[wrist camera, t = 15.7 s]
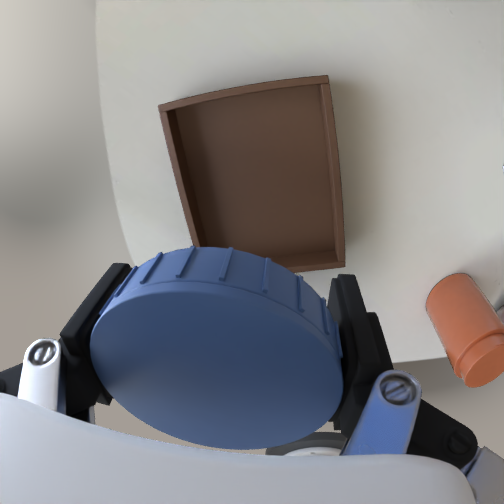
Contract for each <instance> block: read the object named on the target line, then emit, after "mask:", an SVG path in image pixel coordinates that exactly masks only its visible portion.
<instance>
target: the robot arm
mask: <svg viewBox="0 0 504 504" xmlns="http://www.w3.org/2000/svg"><path fill="white" fill-rule="evenodd" d="M132 269H133V268H131V267H130V265H129V264H125V263H113V264H112V265H111V267H110V268H109V269H108V270H107V272H106V273H105V274H104V275H103V277H102V278H101V279H100V280H99V282H98V283H97V284H96V285H95V287H94V288H93V289H92V291H91V292H90V293H89V295H88V296H87V297H86V299H85V300H84V301H83V302H82V304H81V305H80V306H79V308H78V309H77V311H76V312H75V313H74V314H73V316H72V317H71V319H70V320H69V322H68V323H67V324H66V326H65V327H64V328H63V330H62V331H61V333H60V336H61V338H60V339H59V341H57V340H55V339H53V338H43V339H40V340H38V341H36V342H34V343H33V344H32V345H31V346H30V347H29V348H28V350H27V351H26V354H25V357H24V363H21V364H19V365H16V366H14V367H12V368H9V369H7V370H4V371H2V372H0V504H504V459H503V458H501V457H500V456H498V455H497V454H495V453H494V452H492V451H491V450H490V449H488V448H487V447H485V446H484V447H483V448H482V449H481V448H480V447H479V446H477V445H478V443H477V439H476V436H475V435H474V434H473V432H472V431H471V430H470V429H469V428H468V427H466V426H465V425H463V424H461V423H459V422H458V421H456V420H455V419H453V418H451V417H450V416H448V415H447V414H445V413H443V412H442V411H440V410H438V409H437V408H435V407H433V406H432V405H430V404H429V403H427V402H425V401H424V400H422V399H421V395H422V389H421V386H420V383H419V382H418V381H417V379H416V378H415V377H414V376H412V375H411V374H410V373H407V372H405V371H401V370H394V368H393V365H392V362H391V358H390V355H389V351H388V348H387V345H386V341H385V338H384V335H383V332H382V329H381V326H380V322H379V319H378V316H377V314H376V313H375V312H366V308H365V305H364V302H363V298H362V295H361V292H360V289H359V286H358V283H357V280H356V277H355V275H350V274H339V275H338V277H337V278H332V281H331V287H330V293H329V299H328V304H327V308H328V309H329V311H330V313H331V316H332V318H333V320H334V322H335V321H337V323H338V329H339V335H340V341H341V348H342V354H343V358H341V365H342V373H343V380H344V388H343V395H342V399H341V402H340V404H339V406H338V408H337V410H336V412H335V413H334V414H333V416H332V417H331V418H330V419H329V420H328V421H329V422H333V423H334V430H341V434H342V435H344V436H345V437H346V438H347V439H346V442H345V444H344V446H343V448H342V450H340V449H337V448H331V447H310V448H303V449H298V450H294V451H291V452H289V453H287V454H285V455H284V456H275V455H256V454H244V453H232V452H224V451H216V450H208V449H201V448H194V447H188V446H182V445H176V444H171V443H166V442H161V441H156V440H151V439H146V438H142V437H138V436H134V435H129V434H126V433H122V432H118V431H114V430H111V429H107V428H104V427H100V426H97V425H95V414H94V405H95V404H96V402H98V403H101V404H105V405H110V403H111V401H112V398H113V396H112V395H111V394H110V393H109V392H108V391H107V389H106V388H105V387H104V385H103V384H102V382H101V381H100V379H99V377H98V375H97V373H96V371H95V369H94V366H93V363H92V359H91V355H90V340H91V334H92V331H93V329H94V326H95V324H96V323H97V321H98V320H99V318H100V317H101V315H100V314H99V313H100V311H101V309H102V308H103V307H104V305H105V304H106V302H107V301H108V299H109V298H110V297H111V295H112V294H113V292H114V291H115V290H116V288H117V287H118V286H119V284H122V283H123V282H124V280H125V279H126V277H127V276H128V275H129V273H130V272H131V271H132Z"/></svg>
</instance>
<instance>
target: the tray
mask: <svg viewBox="0 0 504 504" xmlns="http://www.w3.org/2000/svg"><path fill="white" fill-rule="evenodd" d="M158 109H159V113H160V118H161V122H162V127H163V131H164V135H165V140H166V144H167V148H168V152H169V156H170V160H171V164H172V168H173V172H174V176H175V180H176V184H177V188H178V192H179V196H180V199H181V203H182V207H183V211H184V214H185V218H186V222H187V225H188V229H189V232H190V236H191V239H192V243H193V246H194V245H195V247H217V248H226V249H228V248H229V247H232V248H233V249H234V250H239V251H243V252H247V253H251V254H254V255H257V256H260V257H263V258H265V259H266V258H267V257H268V258H270V259H271V261H272V262H274V263H276V264H279V265H281V266H283V267H285V268H286V269H288V270H289V271H291V272H293V273H297V272H306V271H315V270H324V269H333V268H342V267H345V236H344V217H343V201H342V188H341V176H340V165H339V154H338V145H337V136H336V128H335V120H334V112H333V105H332V98H331V91H330V84H329V78H328V75H323V76H312V77H302V78H293V79H284V80H277V81H270V82H263V83H257V84H251V85H245V86H239V87H234V88H229V89H223V90H219V91H214V92H209V93H205V94H200V95H196V96H192V97H188V98H184V99H180V100H176V101H172V102H168V103H165V104H161V105H158Z"/></svg>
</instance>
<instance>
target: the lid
mask: <svg viewBox="0 0 504 504" xmlns="http://www.w3.org/2000/svg"><path fill="white" fill-rule="evenodd" d="M99 314H100V315H101V317H100V318H99V320H98V321H97V323H96V324H95V326H94V329H93V331H92V334H91V340H90V355H91V359H92V363H93V366H94V369H95V371H96V373H97V375H98V377H99V379H100V381H101V382H102V384H103V385H104V387H105V388H106V389H107V391H108V392H109V393H110V394H111V395H112V396H113V398H114V399H115V400H116V401H117V402H118V403H120V404H121V405H122V406H123V407H124V408H125V409H126V410H127V411H129V412H130V413H131V414H133V415H134V416H135V417H137V418H138V419H140V420H141V421H143V422H145V423H146V424H148V425H150V426H152V427H153V428H155V429H157V430H159V431H162V432H164V433H166V434H168V435H171V436H173V437H176V438H179V439H182V440H185V441H188V442H191V443H195V444H200V445H204V446H209V447H215V448H222V449H238V450H239V449H240V450H249V449H262V448H270V447H275V446H280V445H284V444H287V443H291V442H294V441H296V440H299V439H301V438H304V437H306V436H308V435H309V434H311V433H313V432H315V431H316V430H317V429H319V428H320V427H322V426H323V425H324V424H325V423H326V422H327V421H328V420H329V419H330V418H331V417H332V416H333V414H334V413H335V412H336V410H337V408H338V406H339V404H340V402H341V399H342V395H343V388H344V380H343V373H342V365H341V358H343V354H342V348H341V341H340V335H339V329H338V323H337V321H335V322H334V320H333V318H332V316H331V313H330V311H329V309H328V308H327V306H326V300H325V298H324V297H323V298H321V297H320V296H319V295H318V294H317V293H316V292H315V291H314V290H313V288H312V287H311V286H309V285H308V284H307V283H306V282H305V281H303V277H302V276H301V275H299V276H297V275H296V274H294V273H293V272H291V271H289V270H288V269H286V268H285V267H283V266H281V265H279V264H276V263H274V262H272V261H271V259H270V258H268V257H267V258H266V259H265V258H263V257H260V256H257V255H254V254H251V253H247V252H243V251H239V250H234V249H233V248H232V247H229V248H228V249H226V248H217V247H195V245H194V246H191V247H190V248H187V249H180V250H175V251H172V252H168V253H165V254H163V253H162V252H160V253H158V255H157V256H156V257H155V258H153V259H150V260H148V261H147V262H145V263H144V264H142V265H141V266H139V267H137V266H135V267H134V268H133V269H132V271H131V272H130V273H129V275H128V276H127V277H126V279H125V280H124V282H123V283H122V284H119V286H118V287H117V288H116V290H115V291H114V292H113V294H112V295H111V297H110V298H109V299H108V301H107V302H106V304H105V305H104V307H103V308H102V309H101V311H100V313H99Z"/></svg>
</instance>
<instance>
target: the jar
mask: <svg viewBox="0 0 504 504" xmlns="http://www.w3.org/2000/svg"><path fill="white" fill-rule="evenodd" d="M426 311H427V314H428V316H429V318H430V320H431V322H432V324H433V326H434V328H435V330H436V332H437V335H438V337H439V339H440V341H441V343H442V345H443V347H444V350H445V352H446V354H447V356H448V359H449V361H450V363H451V365H452V368H453V370H454V373H455V374H456V376H458V377H459V378H463V380H464V383H465V385H467V386H468V387H472V388H474V387H480V386H483V385H485V384H487V383H489V382H491V381H492V380H494V379H495V378H497V377H498V376H499V375H500V374H501V373H502V372H504V322H503V321H502V319H501V318H500V316H499V315H498V313H497V312H496V310H495V309H494V307H493V306H492V305H491V303H490V302H489V300H488V299H487V298H486V296H485V295H484V293H483V292H482V291H481V289H480V288H479V287H478V285H477V284H476V283H475V281H474V280H473V279H472V278H471V277H470V276H469V275H467V274H463V273H456V274H452V275H450V276H448V277H446V278H444V279H443V280H441V281H440V282H439V283H438V284H437V285H436V286H435V287H434V288H433V289H432V291H431V292H430V294H429V296H428V299H427V302H426Z"/></svg>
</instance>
